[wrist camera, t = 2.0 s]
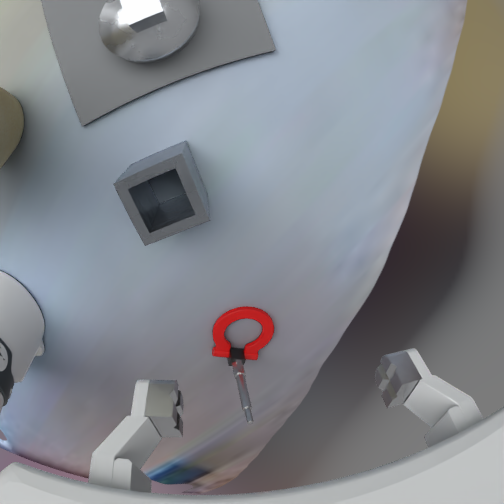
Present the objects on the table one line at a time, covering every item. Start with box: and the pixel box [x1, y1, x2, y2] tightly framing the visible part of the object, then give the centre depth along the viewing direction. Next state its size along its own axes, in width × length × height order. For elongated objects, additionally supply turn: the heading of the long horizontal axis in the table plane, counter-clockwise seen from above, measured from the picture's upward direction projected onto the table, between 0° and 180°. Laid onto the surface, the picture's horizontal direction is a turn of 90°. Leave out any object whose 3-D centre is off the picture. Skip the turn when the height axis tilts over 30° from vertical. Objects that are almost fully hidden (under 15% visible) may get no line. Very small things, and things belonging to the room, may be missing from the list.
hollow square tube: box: [114, 141, 210, 246], centre depth 26 cm, size 6×6×7 cm
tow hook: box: [212, 307, 274, 424], centre depth 35 cm, size 8×13×9 cm
